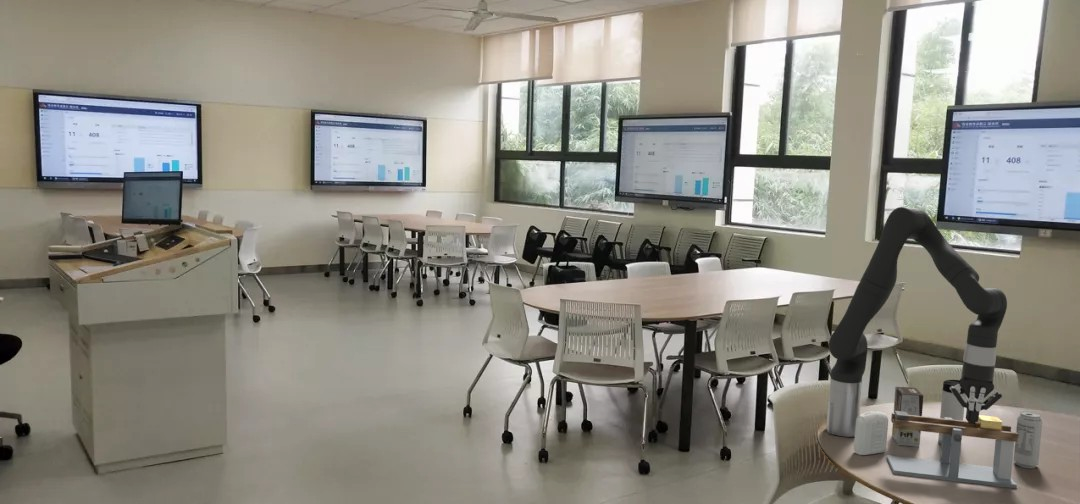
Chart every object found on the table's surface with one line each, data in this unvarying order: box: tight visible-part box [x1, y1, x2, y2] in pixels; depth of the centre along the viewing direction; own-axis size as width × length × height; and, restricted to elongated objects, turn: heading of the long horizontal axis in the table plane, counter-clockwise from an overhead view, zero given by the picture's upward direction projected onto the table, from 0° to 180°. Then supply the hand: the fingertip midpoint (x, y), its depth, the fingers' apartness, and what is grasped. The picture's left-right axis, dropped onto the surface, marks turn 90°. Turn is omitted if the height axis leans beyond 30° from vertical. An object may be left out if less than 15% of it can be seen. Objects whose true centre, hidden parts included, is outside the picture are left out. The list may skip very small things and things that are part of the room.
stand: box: [886, 417, 1018, 489], centre depth 214 cm, size 30×13×14 cm, turn 74°
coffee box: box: [891, 386, 924, 448], centre depth 239 cm, size 9×6×16 cm
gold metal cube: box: [976, 414, 1003, 431], centre depth 211 cm, size 5×4×4 cm
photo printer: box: [853, 410, 889, 456], centre depth 229 cm, size 10×4×12 cm, turn 115°
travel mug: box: [938, 379, 966, 445], centre depth 237 cm, size 6×7×20 cm
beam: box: [890, 411, 1018, 443], centre depth 213 cm, size 30×7×4 cm, turn 74°
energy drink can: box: [1013, 411, 1043, 469], centre depth 221 cm, size 6×6×15 cm
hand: (971, 422), depth 212 cm, fingers closed
